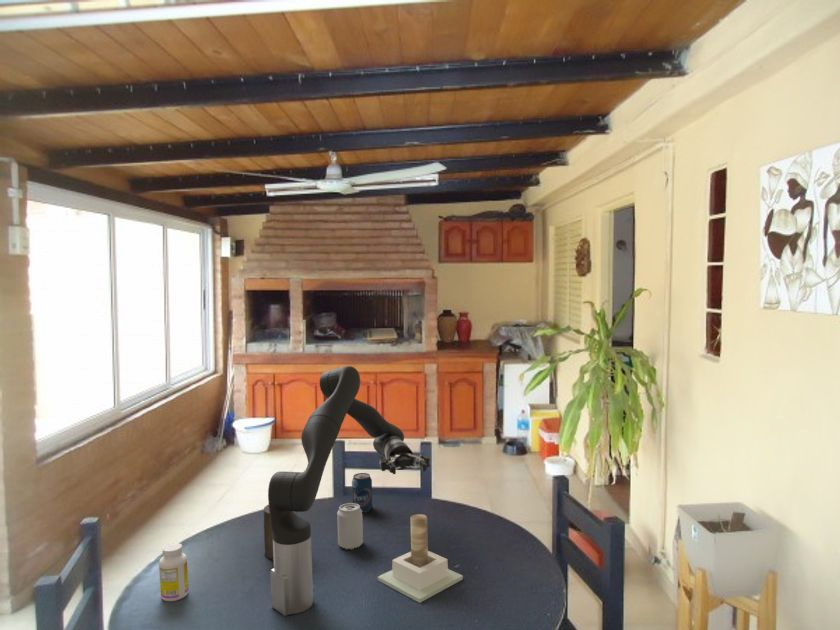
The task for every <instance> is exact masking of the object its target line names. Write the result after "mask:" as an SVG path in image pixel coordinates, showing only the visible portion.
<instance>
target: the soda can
mask: <svg viewBox="0 0 840 630" xmlns="http://www.w3.org/2000/svg"><path fill="white" fill-rule="evenodd" d="M351 500H352V501H351V503H355V504H358V505H359V506H360V509H361V510H362V512H363V513H368V512H369V510H370V511H371V510H372V509H373V479H372V477H371V475H370V473H367V472H359V473H355V474H354V475H353V478H352V479H351ZM367 511H368V512H367Z"/></svg>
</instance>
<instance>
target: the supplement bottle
mask: <svg viewBox="0 0 840 630" xmlns="http://www.w3.org/2000/svg"><path fill="white" fill-rule="evenodd" d="M161 552H162V555H163V556H162V557H161V558H160V559H159V562H158V567H159V582H160V583H159V586H160V587H159V588H160V597H161V599H162V601H166V602H176V601H180V600H181V599H184V598H185V597H187V595H188V594H189V591H190V590H189V588H190V587H189V586H190V585H189V573H188V572H189V571H188V558H187V557H188V556H187V555H186V554H185V553H184V552H183V545H182V544H181V543H178V542H177V543H176V542H175V543H174V542H173V543H169V544H166V545H164V546H163V547H162V549H161Z"/></svg>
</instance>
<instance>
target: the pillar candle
mask: <svg viewBox="0 0 840 630" xmlns="http://www.w3.org/2000/svg"><path fill="white" fill-rule="evenodd" d="M293 512H294V513H295V514H296V515H297V516H298V512H295V511H293ZM263 537H264V554H263V555H264V557H265V558H267V559H269V560H273V561H274V558H273V534H272V531H271V525H270V512H269V503H268V504H267V505H265V506H264V508H263Z"/></svg>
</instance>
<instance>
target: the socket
mask: <svg viewBox="0 0 840 630" xmlns="http://www.w3.org/2000/svg"><path fill="white" fill-rule="evenodd" d="M391 561H392V562H391V563H392V564H391V565H392V567H391V568H392V569H391V570H389V571H386V572H384V573H382V574H380V575H379V576H377V581H378V582H380V583H382V584H384V585H385V586H387V587H389V588H391V589H393V590H394V591H397V592H399V593H400V594H403V596H406V597H408V598H410V599H411V600H413V601H416V602H417V603H418V604H420V603H422V602H423V601H426V600H427V599H430V598H431V597H433V596H435V595H437V594H439V593H440V592H442V591H444V590H445V589H447V588H449V587H451V586H453V585H455V584H457V583H460V582H461V581H462V580H463V579H464V576H463V575H462V574H460V573H458V572H455V571H453V570H451V569H450V568H448V567H449V566H448V564H449V563H448V561H449V560H448V558H445V557H443V556H441V555H440V554H439V555H438V554H436V553H434V552H432V551H429V550H428V564H427V565H425V566H423V567H421V568H419V567H417V566H414V565H412V564H411V551H409V552H407V553H404V554H402V555H400V556H397V557H396V558H394V559H392V560H391Z"/></svg>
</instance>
